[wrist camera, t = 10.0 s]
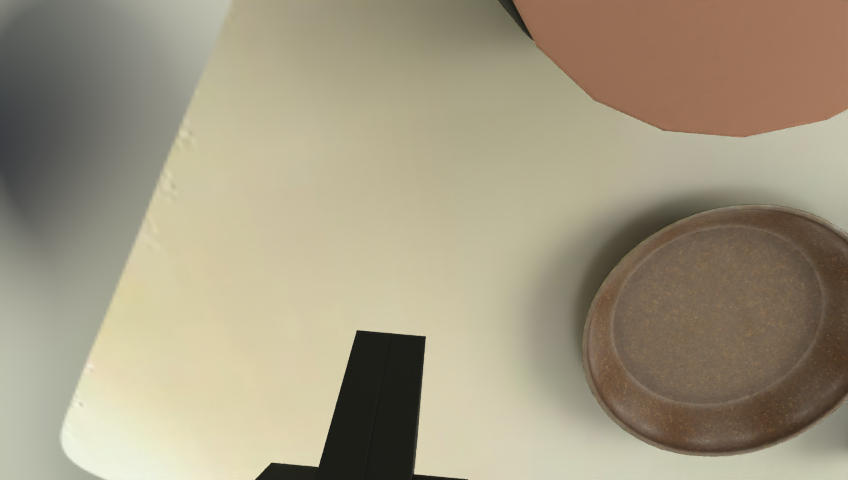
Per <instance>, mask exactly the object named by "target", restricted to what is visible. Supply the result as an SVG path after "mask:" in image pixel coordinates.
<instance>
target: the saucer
mask: <svg viewBox="0 0 848 480" xmlns="http://www.w3.org/2000/svg"><path fill="white" fill-rule="evenodd" d="M582 361H583V367H584V372H585V375H586V379H587V382H588V384H589V387H590V389H591V391H592V393H593V395H594V397H595V398H596V400H597V401H598V403H599V404H600V406H601V407H602V409H603V410H604V411H605V412H606V413H607V415H608V416H609V417H610V418H611V419H612V420H613V421H614V422H615V423H616V424H618V425H619V426H620V427H621V428H622V429H624V430H625V431H626V432H628V433H630V434H631V435H633V436H634V437H636V438H638V439H639V440H641V441H644V442H645V443H647V444H649V445H652V446H654V447H657V448H659V449H662V450H666V451H670V452H674V453H679V454H685V455H694V456H715V457H717V456H732V455H739V454H746V453H751V452H755V451H759V450H762V449H764V448H769V447H772V446H775V445H777V444H780V443H783V442H786V441H788V440H790V439H792V438H795V437H797V436H798V435H800V434H802V433H804V432H806V431H807V430H809V429H811V428H812V427H814V426H815V425H817V424H818V423H820V422H821V421H823V420H824V419H825V418H827V417H828V416H829V415H830V414H832V413H833V412H834V411H835V410H836V409H837V408H838V407H840V406H841V405H842V404H843V403H844V402H845V401H846V400H847V399H848V234H847V233H846V232H844V231H843V230H841V229H840V228H838V227H837V226H835V225H833V224H832V223H830V222H828V221H827V220H824V219H822V218H820V217H818V216H815V215H813V214H810V213H807V212H804V211H801V210H797V209H793V208H789V207H783V206H777V205H765V204H744V205H733V206H727V207H721V208H716V209H712V210H708V211H704V212H700V213H697V214H694V215H691V216H688V217H686V218H683V219H681V220H679V221H676V222H674V223H672V224H670V225H668V226H666V227H664V228H662V229H660V230H658V231H657V232H655V233H653V234H652V235H650V236H649V237H647V238H646V239H644V240H643V241H642V242H640V243H639V244H638V245H637V246H635V247H634V248H633V249H632V250H631V251H630V252H629V253H627V254H626V255H625V256H624V257H623V258H622V259H621V260H620V261H619V262H618V264H617V265H616V266H615V267H614V268H613V269H612V271H611V272H610V273H609V274H608V276H607V277H606V278H605V280H604V281H603V283H602V284H601V286H600V288H599V289H598V291H597V293H596V295H595V296H594V298H593V300H592V303H591V305H590V308H589V311H588V314H587V317H586V320H585V325H584V329H583V337H582Z"/></svg>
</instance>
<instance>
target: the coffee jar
mask: <svg viewBox="0 0 848 480" xmlns="http://www.w3.org/2000/svg"><path fill="white" fill-rule="evenodd" d="M498 1H499V2H500V3H501V4H502V6H503V7H504V8H505V9H506V11H507V12H508V13H509V14H510V15H511V17H512V18H513V19H514V20H515V22H516V23H517V24H518V25H519V26H520V28H521V29H522V30H523V31H524V32H525V33H526V34H527V35H528V36H529V37H530V38H531V39H532V40H533V41H534V42H535V44H536V46H537V47H538V48H539V49H540V50H541V51H542V52H543V53H544V54H545V55H547V56H548V57H549V58H550V59H551V60H552V61H553V62H554V63H555V64H556V65H557V66H558V67H559V68H560V69H561V70H563V71H564V72H565V73H566V74H567V75H568V76H569V77H570V78H571V79H572V80H573V81H574V82H575V83H576V84H577V85H579V86H580V87H581V88H582V89H583V90H584V91H585V92H586V93H587V94H588V95H589V96H590V97H591V98H592V99H593V100H595V101H597V102H600V103H602V104H604V105H607V106H609V107H611V108H613V109H616V110H618V111H620V112H623V113H625V114H627V115H629V116H632V117H634V118H636V119H639V120H641V121H643V122H645V123H648V124H650V125H652V126H655V127H657V128H659V129H661V130H664V131H675V132H686V133H698V134H709V135H720V136H732V137H747V136H751V135H756V134H761V133H766V132H770V131H775V130H780V129H785V128H789V127H794V126H799V125H804V124H809V123H813V122H818V121H823V120H827V119H829V118H831V117H833V116H835V115H837V114H839V113H841V112H843V111H845V110H847V109H848V0H498Z"/></svg>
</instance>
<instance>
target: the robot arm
mask: <svg viewBox="0 0 848 480" xmlns="http://www.w3.org/2000/svg"><path fill="white" fill-rule="evenodd" d="M425 339H426V336H414V335H403V334H392V333H381V332H370V331H358V330H357V332H356V335H355V339H354V343H353V346H352V350H351V353H350V357H349V360H348V364H347V368H346V371H345V375H344V378H343V382H342V385H341V389H340V393H339V396H338V400H337V403H336V407H335V410H334V414H333V418H332V421H331V425H330V428H329V432H328V435H327V439H326V443H325V446H324V450H323V453H322V457H321V460H320V464H319V467H312V466H301V465H291V464H280V463H271V464H270V465H269V466H268V467H267V468H266V469H265V470H264V471H263V472H262V473H261V474H260V475H259V476H258V477H257V478H256V479H255V480H468V479H458V478H447V477H437V476H426V475H415V474H414V468H415V458H416V447H417V437H418V425H419V413H420V400H421V388H422V376H423V364H424V351H425Z"/></svg>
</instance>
